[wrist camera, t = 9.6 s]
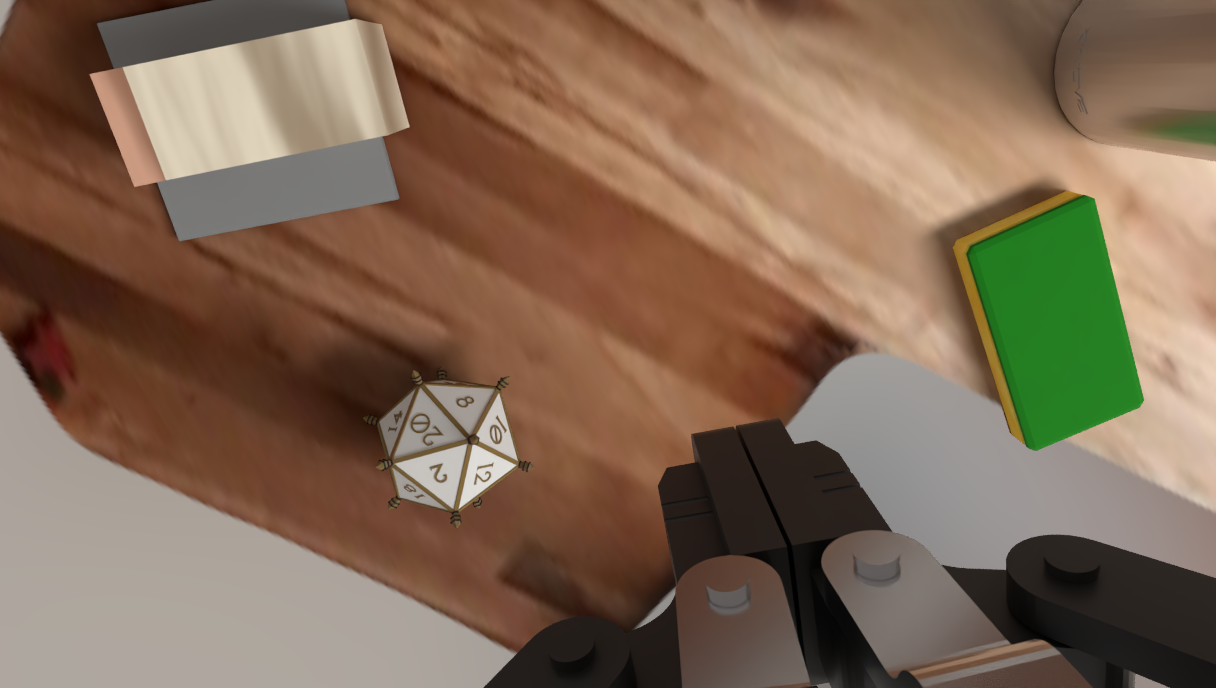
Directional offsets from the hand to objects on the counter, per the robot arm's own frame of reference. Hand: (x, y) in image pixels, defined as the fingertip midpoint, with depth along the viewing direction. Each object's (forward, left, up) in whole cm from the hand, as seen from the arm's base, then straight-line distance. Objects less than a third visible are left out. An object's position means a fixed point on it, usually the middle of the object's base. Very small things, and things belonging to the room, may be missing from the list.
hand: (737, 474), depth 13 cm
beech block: (+10, -8, -28) cm, 31 cm away
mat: (+18, -8, -31) cm, 37 cm away
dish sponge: (-23, +12, -32) cm, 41 cm away
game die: (+12, +11, -31) cm, 35 cm away
